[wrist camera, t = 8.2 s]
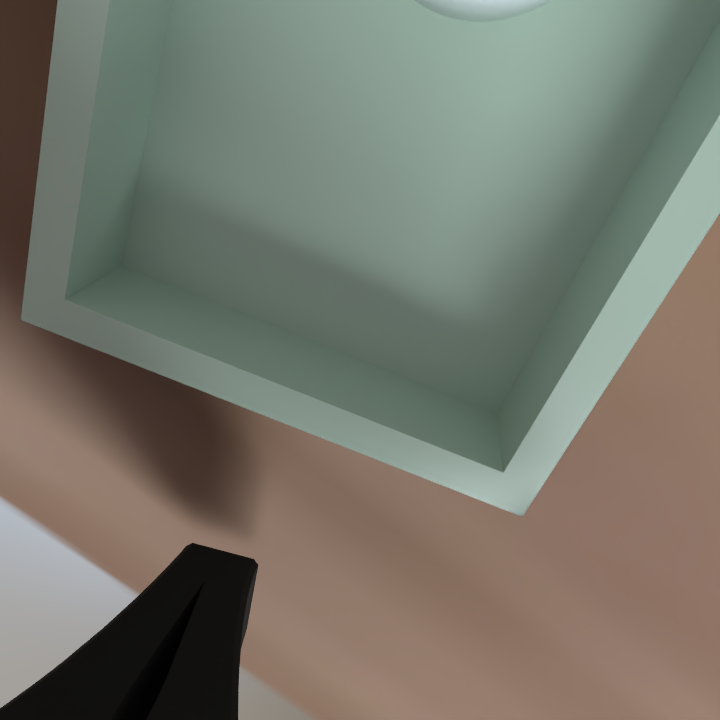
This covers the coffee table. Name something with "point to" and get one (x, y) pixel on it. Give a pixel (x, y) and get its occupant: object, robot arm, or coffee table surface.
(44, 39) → the coffee table surface
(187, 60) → the tray
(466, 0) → the round-ended grey cylinder
